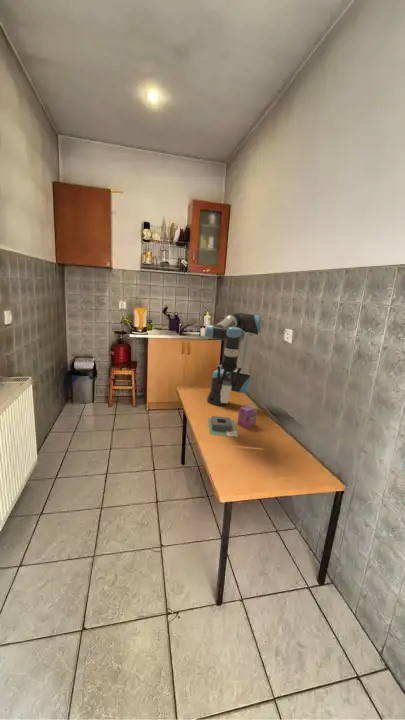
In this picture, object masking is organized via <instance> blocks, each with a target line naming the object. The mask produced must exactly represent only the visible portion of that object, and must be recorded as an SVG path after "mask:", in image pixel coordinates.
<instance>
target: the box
mask: <svg viewBox="0 0 405 720" xmlns="http://www.w3.org/2000/svg"><path fill="white" fill-rule="evenodd" d="M258 409H259V408H258V407H257V406H255V405H253V404H248V405H244V406H241V407H239V412H238V418H237V425H238V426H240V427H241V428H243V429H246V428H248V427H249V428H250V427H252V426H253V427H254V426H256V419H257V416H258V415H257V414H258Z"/></svg>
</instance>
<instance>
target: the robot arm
mask: <svg viewBox="0 0 405 720" xmlns="http://www.w3.org/2000/svg"><path fill="white" fill-rule="evenodd" d="M262 323H263V322H262V316H261V315H256V314H252V313H251V314H250V313H243V312H235V313H230V314H229V315H227V316H225V317H224V318H223V319H222V320H221V321H220V322H218V323H217V324H215V325H214V324H208V325H207V326H206V329H205V336H206V337H207V338H210V339H212V340H213V339H214V340H219V341H220V340H221V341H224V342H225V345H224V351H223V354H224V355H223V360H222V363H221V364H220V365H219V364H217V365H216V367H217V368H216V370H214V371H213V373H212V376H211V377H212V378H211V385H210V386H211V387H210V391H209V393H208V395H207V397H206V401H207V402H208V403H209V404H211V405H214V406H226V405H228V404H229V402H228V403H221V396H222V392H223V381H224V380H225V381H230V382H231V388H230V394H229V398H230V397H231V394H232V392H236V393H239V394H247V392H248V391H249V389H250V386H251V383H252V379H253V378H252V377H251V376H250V375H251V374H250V372H249V370H250V366H251V361H252V356H253V351H254V346H255V340H256V338H257V337H259V334H261V332H262V328H263V327H262V325H263V324H262Z"/></svg>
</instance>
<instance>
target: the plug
mask: <svg viewBox="0 0 405 720" xmlns="http://www.w3.org/2000/svg"><path fill="white" fill-rule="evenodd" d="M230 388H231V382H230V381H225V380H224V381H223V392H222V396H221V403H228V404H229V400H230V397H229V394H230Z"/></svg>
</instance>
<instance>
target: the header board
mask: <svg viewBox="0 0 405 720" xmlns="http://www.w3.org/2000/svg"><path fill="white" fill-rule="evenodd" d="M208 426H209V427H208V428H209V429H208V430H209V435H211V436H222V437H232V438H239V437H240V436H239V433H238V429H237V426H236V423H235V420H234V419H231V417H225V416H218V415H217V416H216V415H211V417H208Z"/></svg>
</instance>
